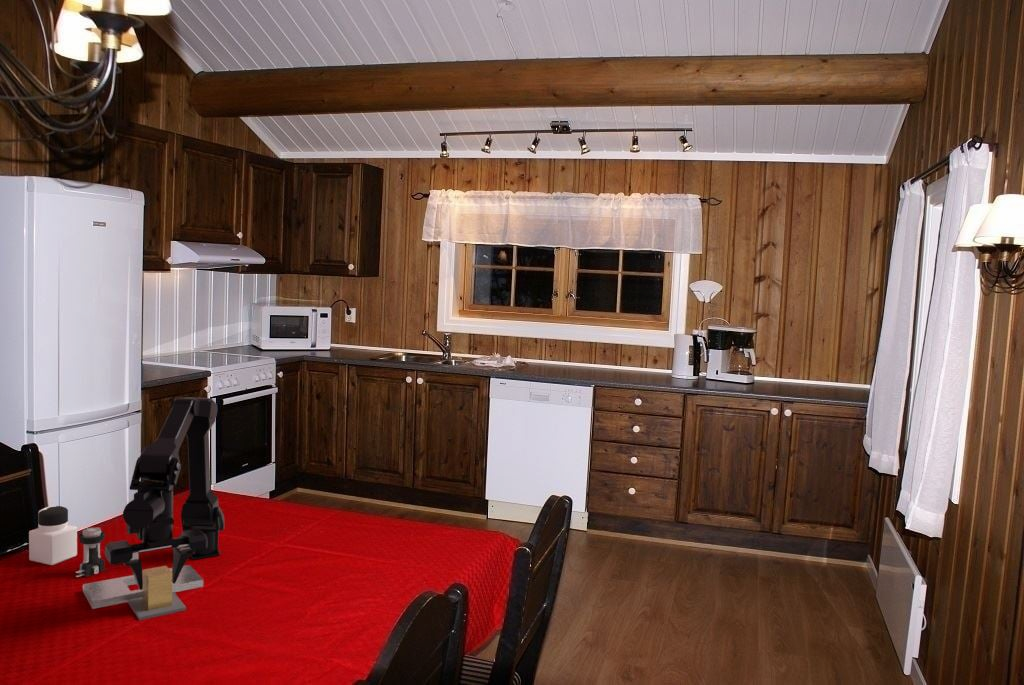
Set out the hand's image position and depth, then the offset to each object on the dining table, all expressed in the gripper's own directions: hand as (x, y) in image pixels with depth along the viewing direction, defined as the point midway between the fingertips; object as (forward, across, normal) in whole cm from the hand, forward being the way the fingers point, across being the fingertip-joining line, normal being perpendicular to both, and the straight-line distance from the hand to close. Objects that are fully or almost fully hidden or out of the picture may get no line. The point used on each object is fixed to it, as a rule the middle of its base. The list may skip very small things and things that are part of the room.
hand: (157, 585), depth 167 cm
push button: (+5, +8, -25) cm, 27 cm away
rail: (+4, 0, -10) cm, 11 cm away
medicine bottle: (+5, +13, -39) cm, 41 cm away
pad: (+4, 0, 0) cm, 4 cm away
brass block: (+4, 0, 0) cm, 4 cm away
